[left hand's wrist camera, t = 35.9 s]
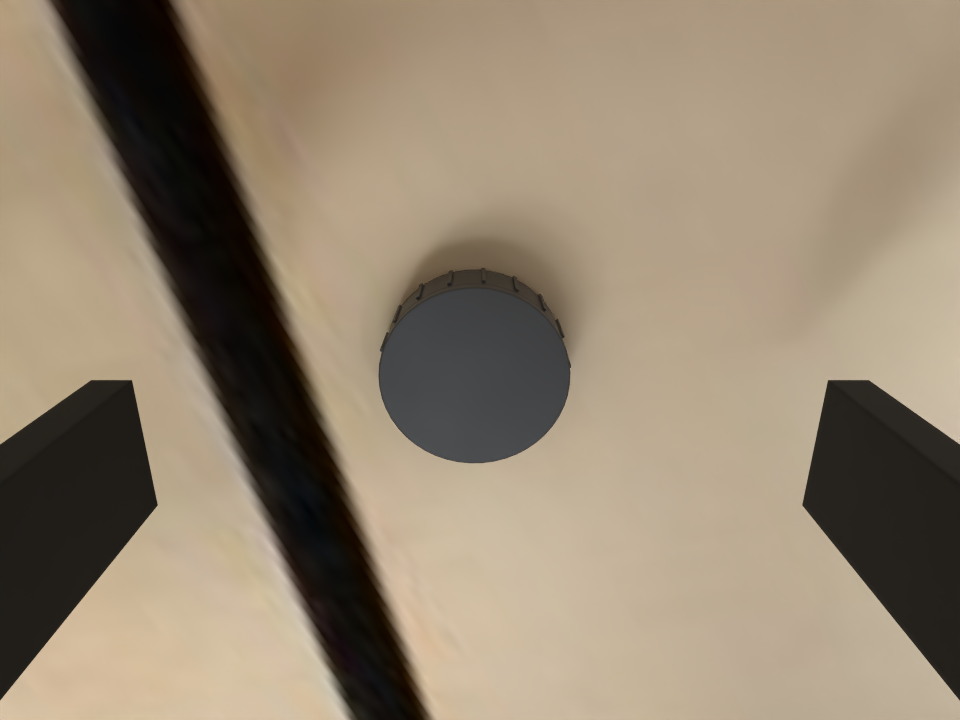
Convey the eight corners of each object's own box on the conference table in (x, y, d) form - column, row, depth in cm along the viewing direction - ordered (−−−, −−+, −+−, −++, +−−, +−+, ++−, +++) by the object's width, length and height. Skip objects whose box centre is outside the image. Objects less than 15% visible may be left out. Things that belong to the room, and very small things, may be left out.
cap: (454, 462, 17) (452, 496, 16) (349, 332, 16) (336, 356, 14) (596, 376, 16) (608, 403, 15) (497, 230, 15) (500, 244, 14)
